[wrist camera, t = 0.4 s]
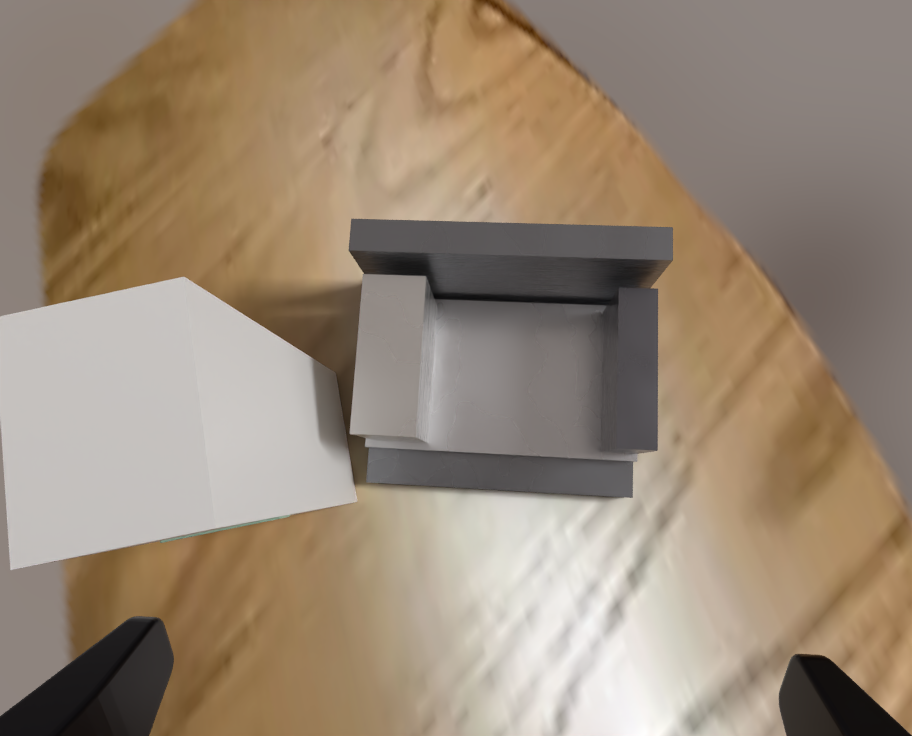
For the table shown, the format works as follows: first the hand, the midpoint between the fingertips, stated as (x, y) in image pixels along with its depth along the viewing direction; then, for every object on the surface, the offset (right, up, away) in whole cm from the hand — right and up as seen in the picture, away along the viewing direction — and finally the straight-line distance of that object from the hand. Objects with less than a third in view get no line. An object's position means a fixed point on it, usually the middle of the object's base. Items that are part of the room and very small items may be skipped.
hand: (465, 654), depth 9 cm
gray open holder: (+2, +4, +15) cm, 15 cm away
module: (-6, +1, +15) cm, 16 cm away
